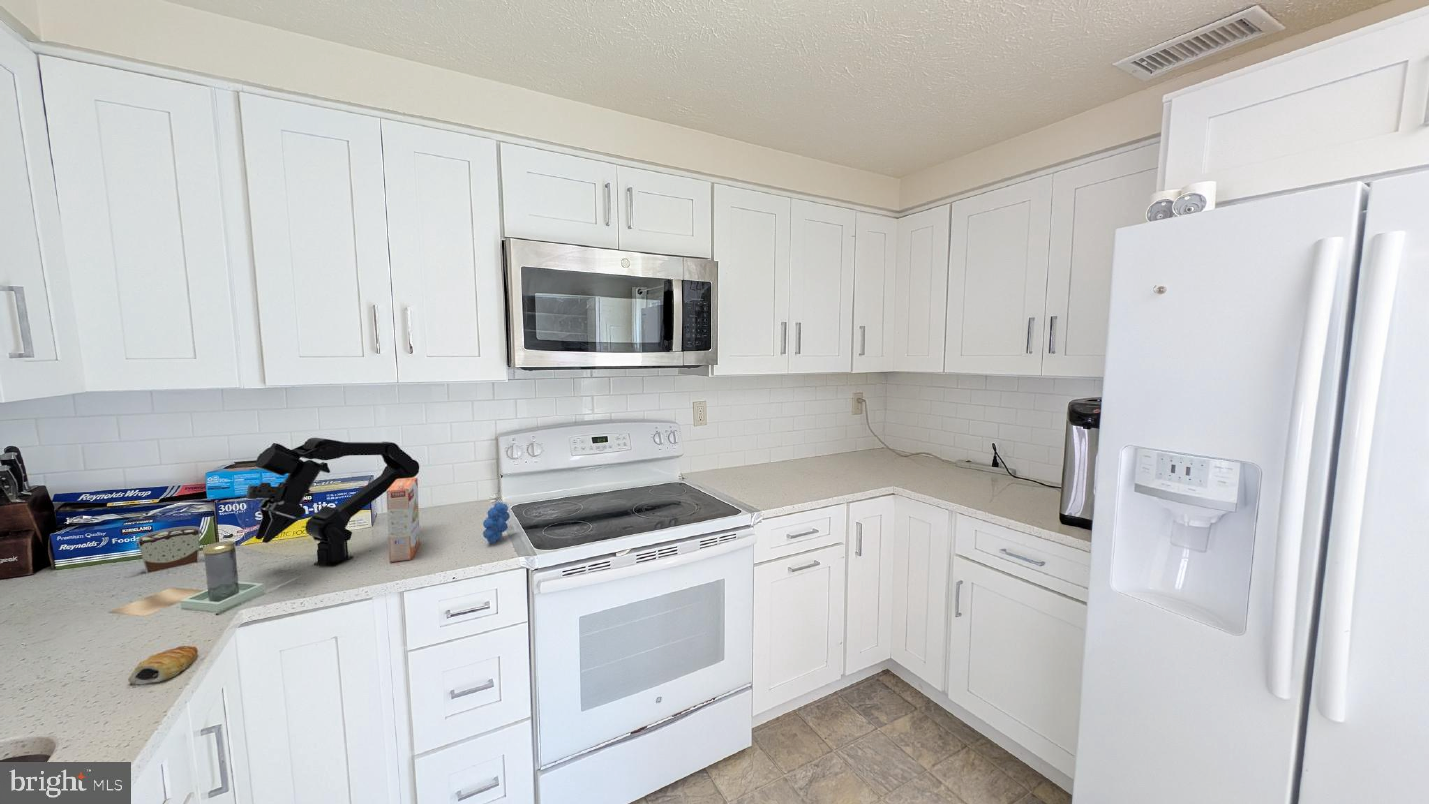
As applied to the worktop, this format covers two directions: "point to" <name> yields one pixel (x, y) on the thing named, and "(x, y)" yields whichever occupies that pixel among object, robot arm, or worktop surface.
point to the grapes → (496, 522)
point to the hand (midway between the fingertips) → (260, 540)
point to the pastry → (163, 665)
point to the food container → (169, 547)
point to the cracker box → (403, 519)
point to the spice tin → (221, 570)
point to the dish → (203, 603)
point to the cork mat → (156, 602)
